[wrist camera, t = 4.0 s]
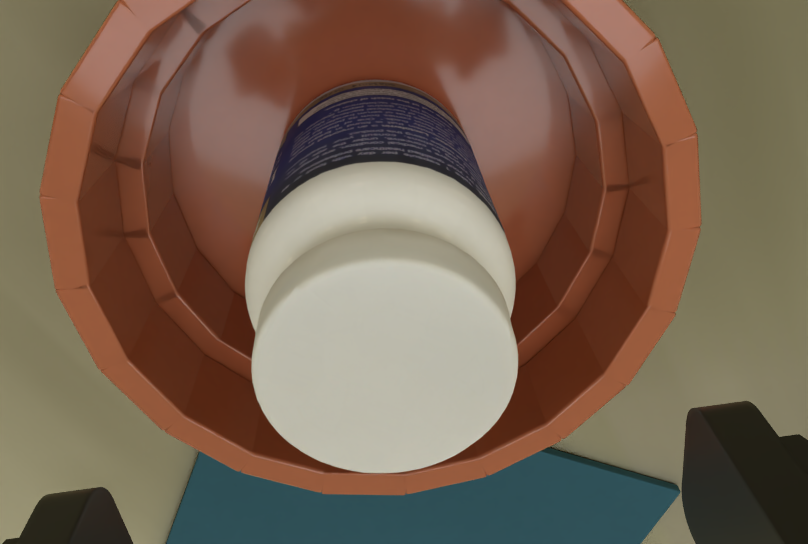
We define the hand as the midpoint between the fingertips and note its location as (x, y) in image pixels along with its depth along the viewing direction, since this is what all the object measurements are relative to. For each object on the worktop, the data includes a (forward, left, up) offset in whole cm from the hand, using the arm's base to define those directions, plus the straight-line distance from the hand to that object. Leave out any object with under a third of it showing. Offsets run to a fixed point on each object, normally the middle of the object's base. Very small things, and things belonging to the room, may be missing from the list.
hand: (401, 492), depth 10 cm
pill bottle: (0, 0, -13) cm, 13 cm away
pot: (0, 0, -13) cm, 13 cm away
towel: (+7, -13, -13) cm, 20 cm away
